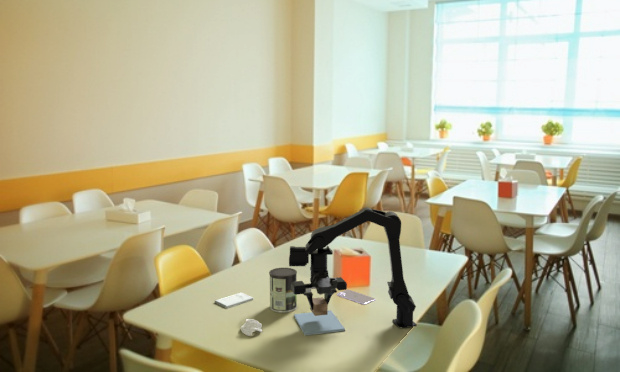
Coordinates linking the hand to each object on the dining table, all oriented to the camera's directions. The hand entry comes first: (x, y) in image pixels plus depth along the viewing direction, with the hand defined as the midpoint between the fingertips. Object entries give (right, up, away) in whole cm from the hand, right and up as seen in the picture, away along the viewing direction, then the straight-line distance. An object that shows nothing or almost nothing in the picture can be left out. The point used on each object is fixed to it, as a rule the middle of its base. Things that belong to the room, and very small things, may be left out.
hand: (318, 309), depth 181 cm
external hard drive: (-33, -3, +21) cm, 39 cm away
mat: (0, -5, +1) cm, 5 cm away
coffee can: (-13, -3, +15) cm, 20 cm away
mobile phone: (+15, -2, +25) cm, 29 cm away
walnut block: (0, -1, 0) cm, 1 cm away
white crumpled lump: (-23, -7, -5) cm, 24 cm away
